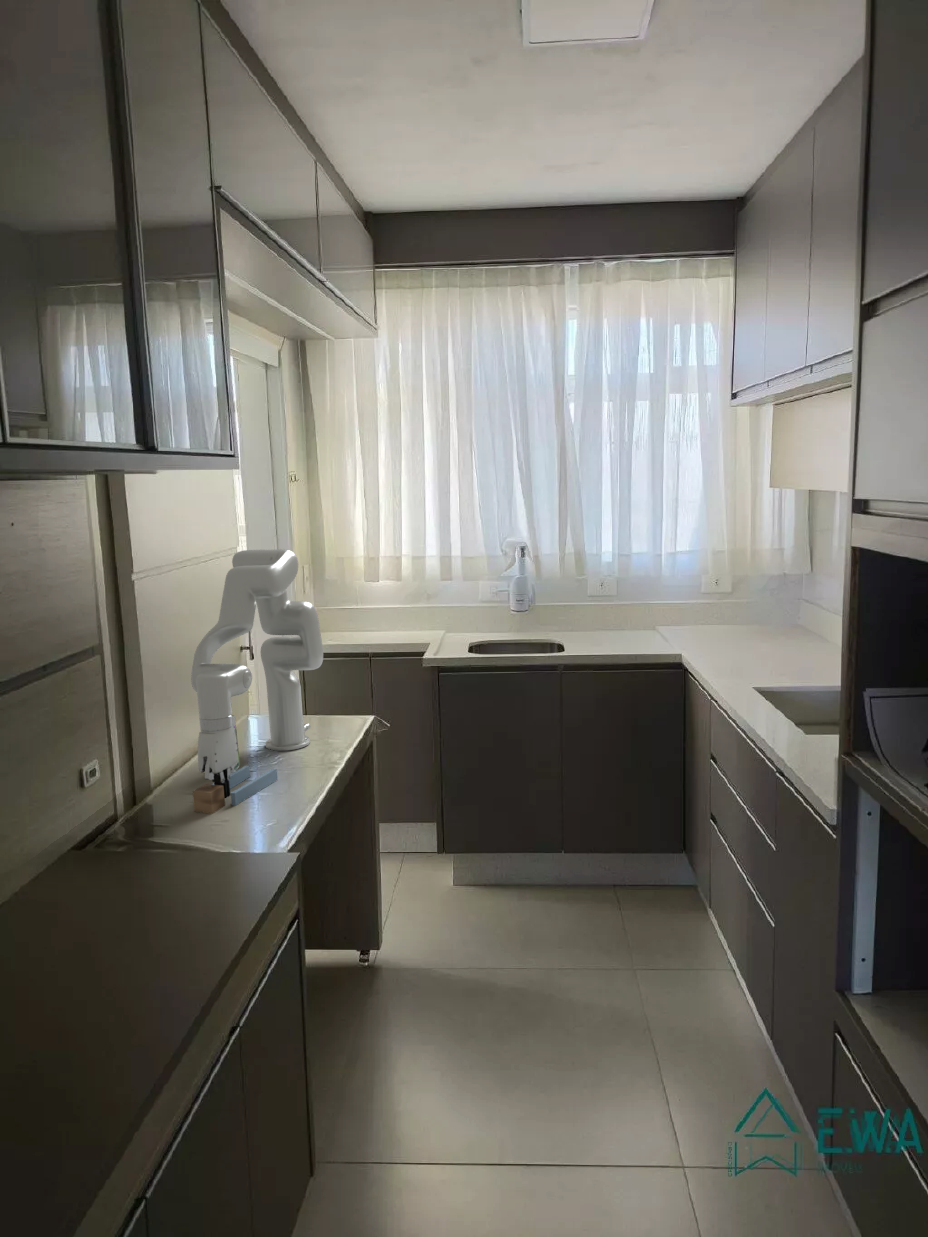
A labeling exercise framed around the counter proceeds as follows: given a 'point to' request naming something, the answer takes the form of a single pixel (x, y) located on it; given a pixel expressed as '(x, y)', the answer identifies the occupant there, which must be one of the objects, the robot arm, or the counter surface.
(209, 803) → the walnut block
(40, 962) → the counter surface
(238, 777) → the channel
